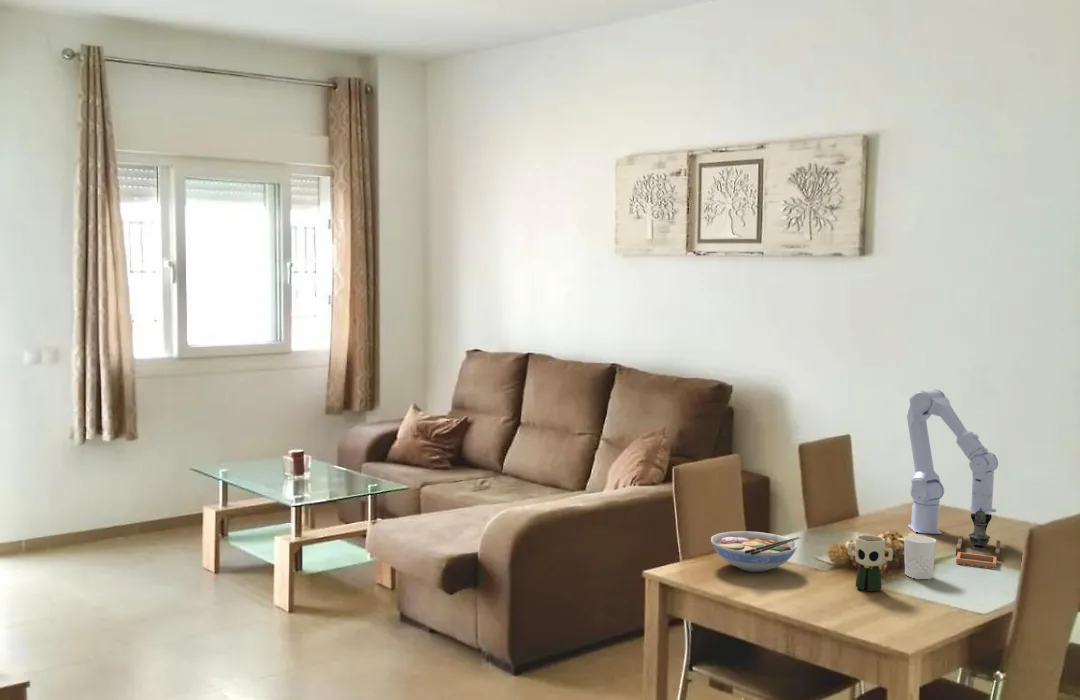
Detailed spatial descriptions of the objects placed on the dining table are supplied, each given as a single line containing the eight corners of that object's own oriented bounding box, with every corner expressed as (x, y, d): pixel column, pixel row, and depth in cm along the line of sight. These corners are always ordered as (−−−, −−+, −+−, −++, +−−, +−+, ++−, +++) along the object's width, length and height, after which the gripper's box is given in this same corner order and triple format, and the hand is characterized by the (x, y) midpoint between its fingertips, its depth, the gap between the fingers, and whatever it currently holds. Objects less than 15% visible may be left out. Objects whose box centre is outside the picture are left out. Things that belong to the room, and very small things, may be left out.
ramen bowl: (743, 551, 289) (744, 523, 288) (815, 569, 273) (816, 539, 272) (689, 568, 271) (690, 537, 271) (763, 587, 255) (764, 555, 255)
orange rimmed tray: (959, 542, 304) (959, 536, 304) (1000, 547, 300) (1000, 540, 299) (955, 555, 290) (956, 548, 290) (998, 560, 285) (999, 553, 285)
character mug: (842, 589, 255) (845, 538, 254) (849, 582, 261) (851, 532, 260) (888, 596, 250) (890, 544, 249) (893, 589, 256) (895, 538, 255)
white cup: (897, 576, 268) (899, 538, 267) (910, 570, 274) (911, 533, 273) (927, 582, 262) (929, 544, 262) (939, 576, 268) (941, 539, 268)
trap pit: (957, 557, 288) (957, 551, 288) (996, 562, 284) (996, 556, 284) (955, 564, 281) (956, 558, 281) (995, 569, 276) (995, 563, 276)
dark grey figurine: (993, 551, 295) (995, 510, 295) (972, 550, 296) (974, 509, 295) (984, 545, 301) (986, 505, 300) (964, 545, 301) (966, 505, 301)
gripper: (996, 499, 295) (994, 545, 296) (997, 490, 308) (995, 534, 309) (970, 496, 298) (967, 542, 299) (972, 488, 311) (970, 532, 312)
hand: (980, 538), depth 304 cm, fingers closed
